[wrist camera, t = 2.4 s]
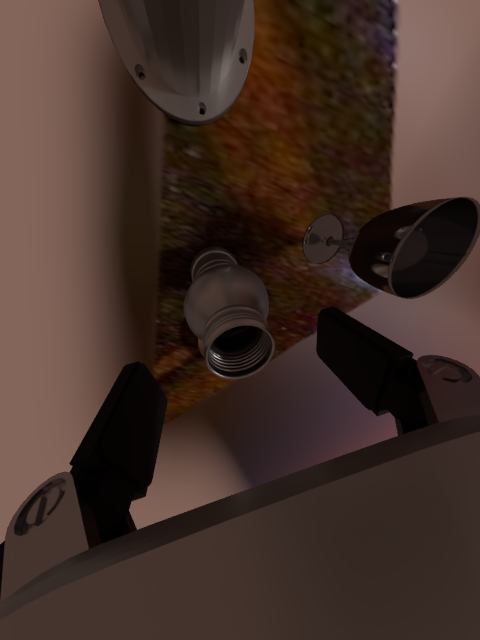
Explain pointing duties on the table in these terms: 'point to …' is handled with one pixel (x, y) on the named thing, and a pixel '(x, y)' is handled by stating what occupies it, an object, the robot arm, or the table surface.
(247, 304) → the plastic bottle
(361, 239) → the wine glass
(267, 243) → the table surface
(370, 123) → the table surface
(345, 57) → the table surface
